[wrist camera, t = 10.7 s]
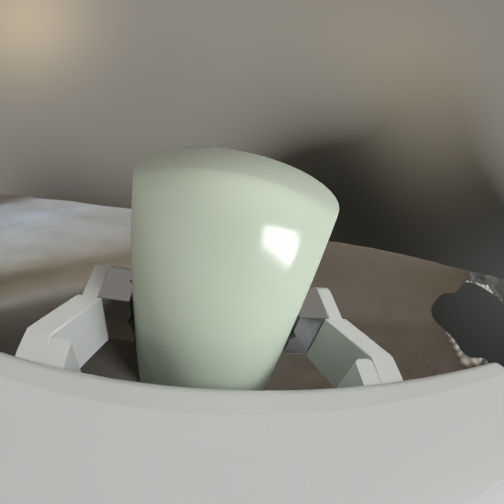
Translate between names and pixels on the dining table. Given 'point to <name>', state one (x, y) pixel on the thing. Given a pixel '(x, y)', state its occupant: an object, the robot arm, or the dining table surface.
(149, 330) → the pale green tall cylinder
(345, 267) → the dining table surface
